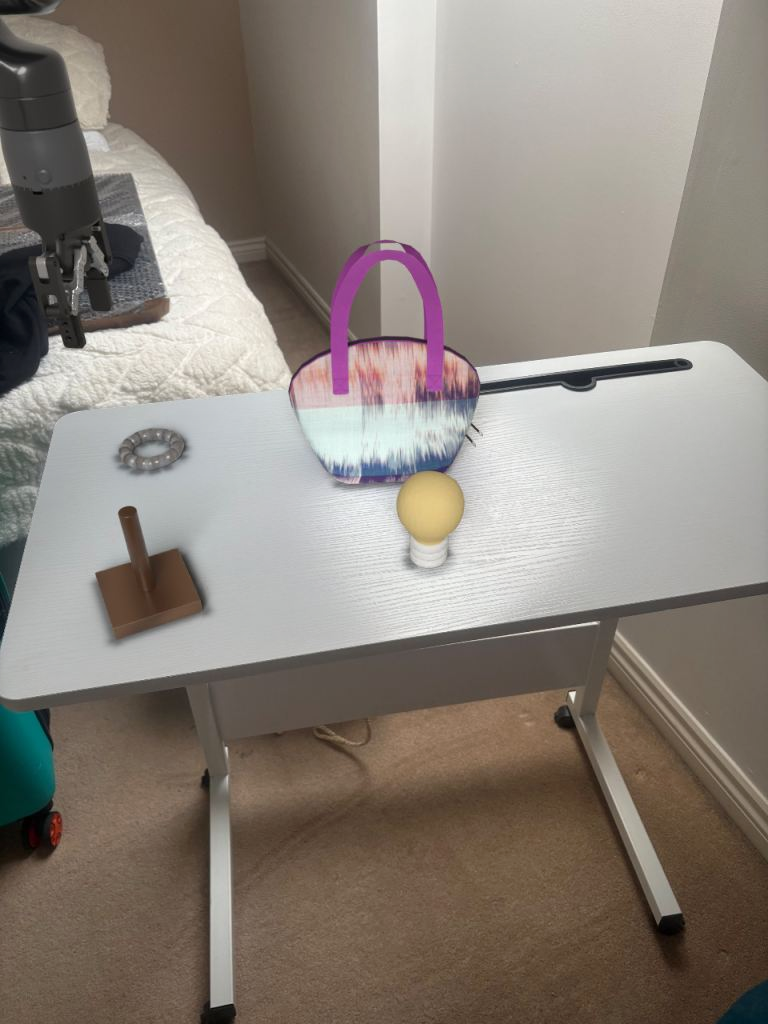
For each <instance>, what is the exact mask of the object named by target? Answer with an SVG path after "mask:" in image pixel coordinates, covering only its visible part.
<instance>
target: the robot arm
mask: <svg viewBox="0 0 768 1024" xmlns="http://www.w3.org/2000/svg"><path fill="white" fill-rule="evenodd" d="M64 2H65V0H0V146H1V152H2V156H3V160H4V163H5V167H6V170H7V174H8V177H9V182H10V184H11V188H12V192H13V195H14V199H15V202H16V203H15V204H16V206H17V209H18V213H19V217H20V220H21V223H22V225H23V226H24V227H25V228H26V229H28V230H29V231H32V232H34V233H36V234H37V235H38V236H39V237H40V239H41V252H42V254H41V255H39V256H29V257H28V259H27V264H28V268H29V272H30V277H31V280H32V285H33V288H34V293H35V296H36V300H37V304H38V308H39V312H40V316H41V317H42V318H49V319H50V318H55V319H56V323H57V326H58V331H59V334H60V337H61V341H62V344H63V346H64V348H66V349H75V350H76V349H77V350H79V349H80V350H81V349H84V348H85V346H86V345H87V342H88V341H87V338H86V334H85V331H84V326H83V323H82V318H81V314H80V312H79V295H80V294H82V293H83V291H84V284H85V287H86V291H87V294H88V299H89V303H90V308H91V309H92V310H93V311H94V312H106V313H107V312H110V311H111V310H112V309H113V307H114V305H113V299H112V295H111V291H110V287H109V286H110V285H109V282H108V279H107V277H108V276H109V271H110V270H109V266H108V265H112V264H113V254H112V250H111V246H110V242H109V239H108V234H107V230H106V225H105V221H104V217H103V214H102V208H101V204H100V200H99V195H98V190H97V186H96V181H95V177H94V172H93V168H92V167H93V166H92V163H91V159H90V155H89V154H90V153H89V148H88V144H87V142H86V138H85V136H84V133H83V130H82V127H81V124H80V120H79V117H78V113H77V107H76V103H75V99H74V95H73V90H72V86H71V80H70V76H69V72H68V67H67V64H66V62H65V59H64V57H63V56H62V54H61V53H60V52H59V51H58V50H56V49H54V48H53V47H49V46H48V45H47V46H46V45H43V44H40V43H35V42H31V41H28V40H25V39H23V38H21V37H19V36H18V35H16V34H15V33H14V32H13V31H12V29H11V28H10V26H8V24H7V23H6V21H5V19H4V18H3V16H46V15H49V14H51V13H54V12H55V11H57V10H58V9H59V8H60V7H61V6H62V5H63V4H64ZM98 245H99V246H100V247H99V246H98ZM100 248H101V249H100ZM66 281H70V282H66ZM84 282H85V283H84ZM67 293H68V297H67Z"/></svg>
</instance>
